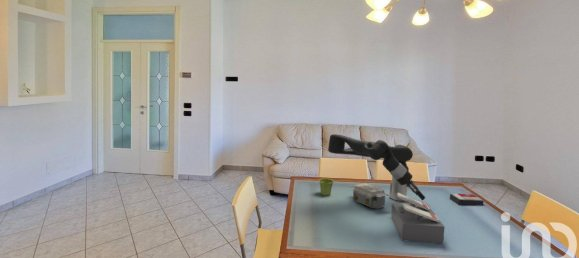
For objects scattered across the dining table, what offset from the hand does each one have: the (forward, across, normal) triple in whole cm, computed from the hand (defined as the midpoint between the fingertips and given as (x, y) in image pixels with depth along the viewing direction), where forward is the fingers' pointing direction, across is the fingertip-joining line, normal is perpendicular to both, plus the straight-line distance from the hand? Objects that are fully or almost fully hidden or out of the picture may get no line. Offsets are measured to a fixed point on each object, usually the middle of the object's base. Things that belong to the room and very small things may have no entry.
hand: (423, 198), depth 173 cm
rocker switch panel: (+6, +7, -13) cm, 16 cm away
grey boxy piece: (-8, -25, -27) cm, 37 cm away
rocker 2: (-2, +15, -5) cm, 16 cm away
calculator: (+35, -39, +16) cm, 54 cm away
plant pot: (-25, -37, -44) cm, 63 cm away
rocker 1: (-2, 0, -5) cm, 5 cm away
